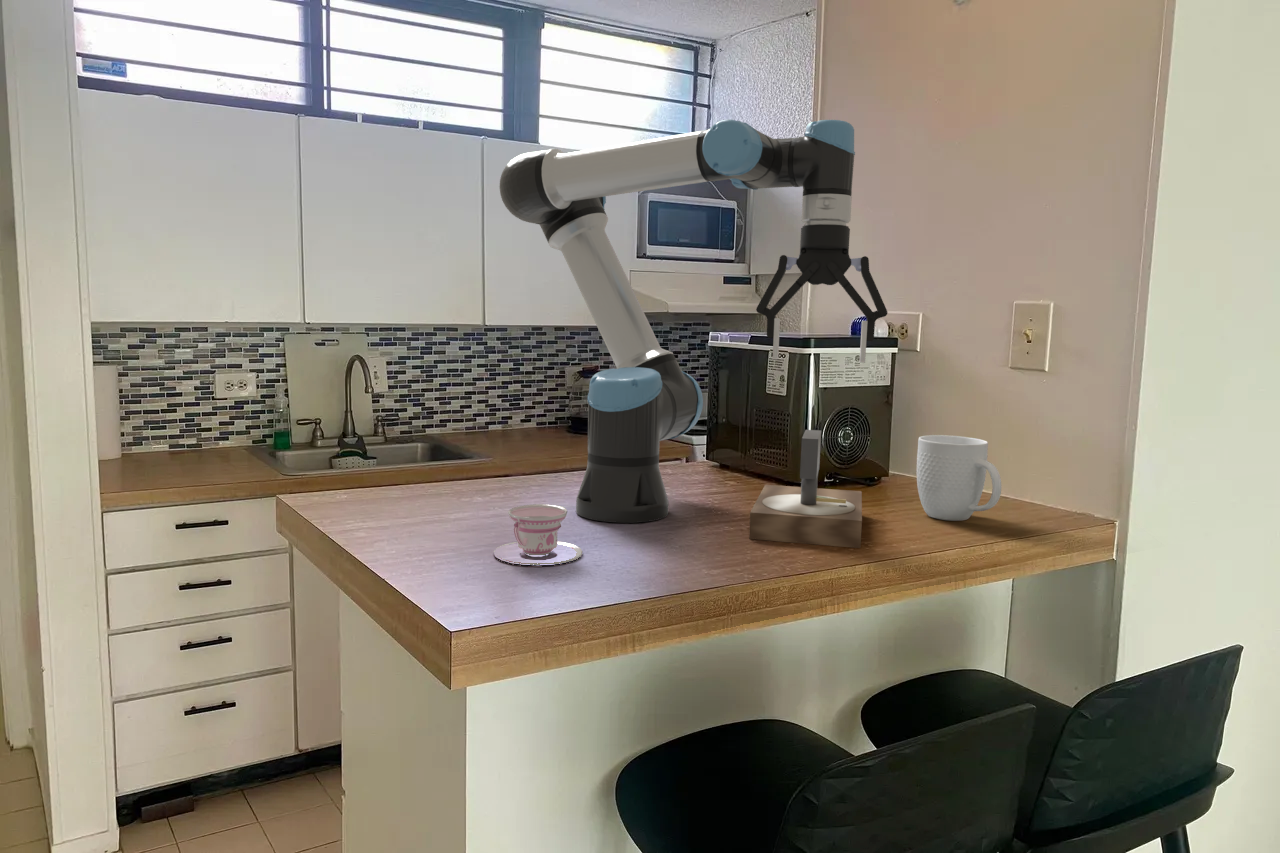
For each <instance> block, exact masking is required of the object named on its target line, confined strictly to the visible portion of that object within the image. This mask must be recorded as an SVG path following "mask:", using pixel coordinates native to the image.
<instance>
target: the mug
mask: <svg viewBox="0 0 1280 853" xmlns="http://www.w3.org/2000/svg"><path fill="white" fill-rule="evenodd" d="M988 447H989V442H988V441H987V440H984V439H982V438H981V439H980V438H975V437H968V436H960V435H950V434H949V435H946V434H930V435H929V434H928V435H922V436H919V437H918V440H917V452H916V471H915V472H916V485H917V486H916V487H917V492H918V497H919V500H920V503H921V505H922V506H921V507H922V509H923V511H924V512H925V513H926V515H927V516H928V517H930V518H933V519H937V520H942V521H953V522H957V521H958V522H959V521H966V520H968V519H970V517H971V516H972V515H973V513H975V512H984V511H988V510H990V509H992V508H993V507H995V506H996V505H997V504H998V502H999V500H1000V497H1001V494H1002V479H1001V475H1000V472H999V469H998V468H997V467H996V466H995V464H993V463H992V462H990V461H988V454H989V452H988V450H989V448H988ZM987 472H988V474H989V475H990V479H991V484H992V491H991V496H990V499H989V500H988V502H987V503H985V504H982V505H978V504H980V500H981V498H982V494H983V490H984V489H985V488H984V487H985V482H986V478H987V477H986V476H987V475H986V474H987Z"/></svg>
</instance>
